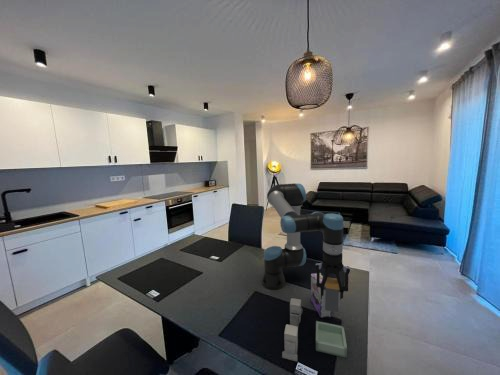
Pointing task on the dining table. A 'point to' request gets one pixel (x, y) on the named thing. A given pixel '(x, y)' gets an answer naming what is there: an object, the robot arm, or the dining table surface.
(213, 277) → the dining table surface
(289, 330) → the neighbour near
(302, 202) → the robot arm
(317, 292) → the candy box
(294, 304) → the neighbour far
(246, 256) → the dining table surface
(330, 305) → the block
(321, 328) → the tray
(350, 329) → the dining table surface
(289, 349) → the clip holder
